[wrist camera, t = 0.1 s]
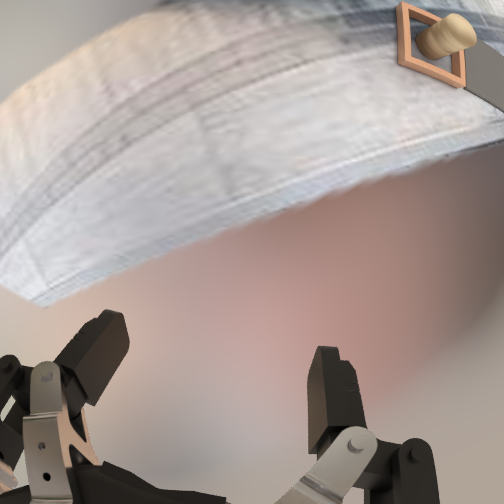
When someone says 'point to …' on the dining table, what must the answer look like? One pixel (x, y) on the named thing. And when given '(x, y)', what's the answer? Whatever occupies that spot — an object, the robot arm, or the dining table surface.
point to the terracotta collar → (406, 60)
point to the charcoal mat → (485, 73)
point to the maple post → (446, 37)
